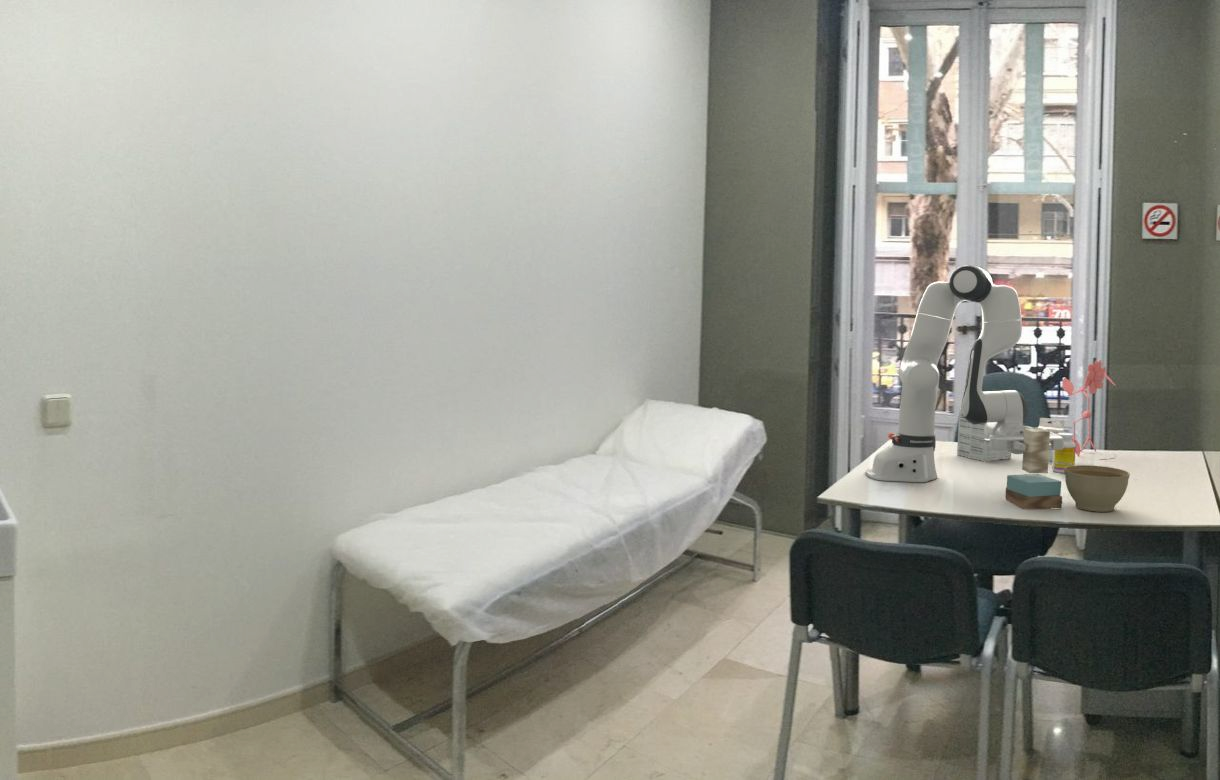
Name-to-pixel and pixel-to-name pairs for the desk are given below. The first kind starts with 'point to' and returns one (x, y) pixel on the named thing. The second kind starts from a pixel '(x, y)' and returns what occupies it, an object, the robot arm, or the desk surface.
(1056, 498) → the walnut base block
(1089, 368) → the pink flower sculpture
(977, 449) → the supplement box
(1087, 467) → the planter bowl
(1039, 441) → the ash pillar block
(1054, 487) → the teal top block
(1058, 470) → the supplement bottle
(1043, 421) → the ink cartridge box
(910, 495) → the desk surface
